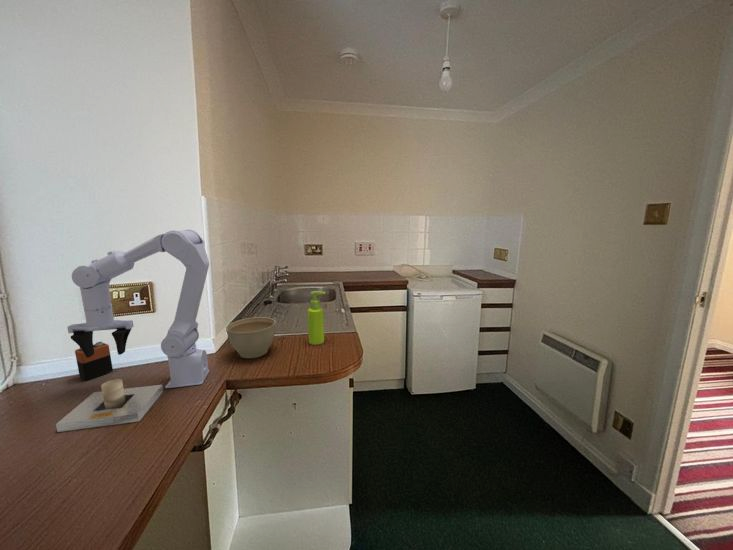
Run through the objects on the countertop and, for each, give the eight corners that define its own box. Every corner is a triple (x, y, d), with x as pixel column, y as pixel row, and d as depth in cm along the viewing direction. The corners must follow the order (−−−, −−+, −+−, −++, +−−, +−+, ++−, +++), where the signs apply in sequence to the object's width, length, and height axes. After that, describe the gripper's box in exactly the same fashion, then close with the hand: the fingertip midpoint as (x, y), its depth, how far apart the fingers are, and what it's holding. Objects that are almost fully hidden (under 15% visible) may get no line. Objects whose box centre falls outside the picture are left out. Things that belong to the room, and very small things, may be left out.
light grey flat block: (163, 391, 82) (162, 384, 82) (139, 421, 70) (137, 413, 70) (95, 399, 79) (94, 391, 79) (57, 432, 66) (55, 423, 66)
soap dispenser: (325, 344, 113) (323, 293, 109) (307, 344, 113) (305, 293, 110) (327, 338, 119) (326, 289, 115) (310, 338, 119) (308, 289, 115)
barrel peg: (129, 402, 77) (125, 377, 76) (122, 411, 73) (117, 385, 72) (110, 405, 76) (106, 380, 74) (102, 415, 72) (97, 388, 71)
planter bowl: (269, 340, 117) (267, 314, 115) (283, 355, 104) (281, 325, 102) (225, 350, 108) (222, 322, 106) (234, 368, 95) (231, 336, 93)
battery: (79, 378, 90) (73, 347, 88) (106, 368, 96) (101, 339, 94) (86, 381, 88) (80, 349, 86) (113, 371, 94) (108, 341, 92)
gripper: (55, 314, 76) (64, 363, 79) (120, 310, 79) (127, 358, 82) (74, 306, 83) (83, 352, 85) (134, 303, 86) (140, 347, 88)
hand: (106, 354), depth 84 cm, fingers open, 7 cm apart
